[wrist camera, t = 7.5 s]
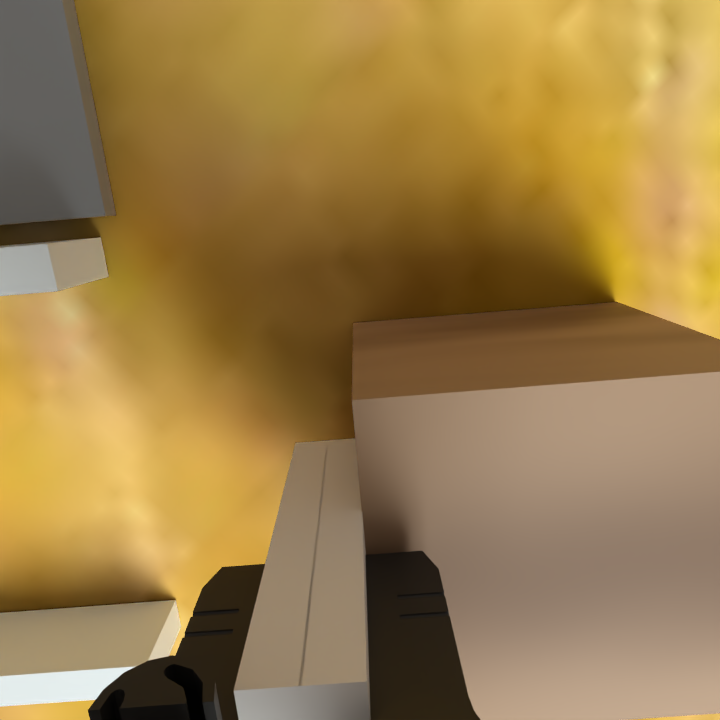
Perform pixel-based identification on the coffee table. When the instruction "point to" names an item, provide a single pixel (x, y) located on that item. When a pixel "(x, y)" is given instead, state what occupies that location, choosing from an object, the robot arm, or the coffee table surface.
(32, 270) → the channel
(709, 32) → the coffee table surface
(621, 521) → the walnut block
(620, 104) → the coffee table surface
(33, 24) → the slate coaster
